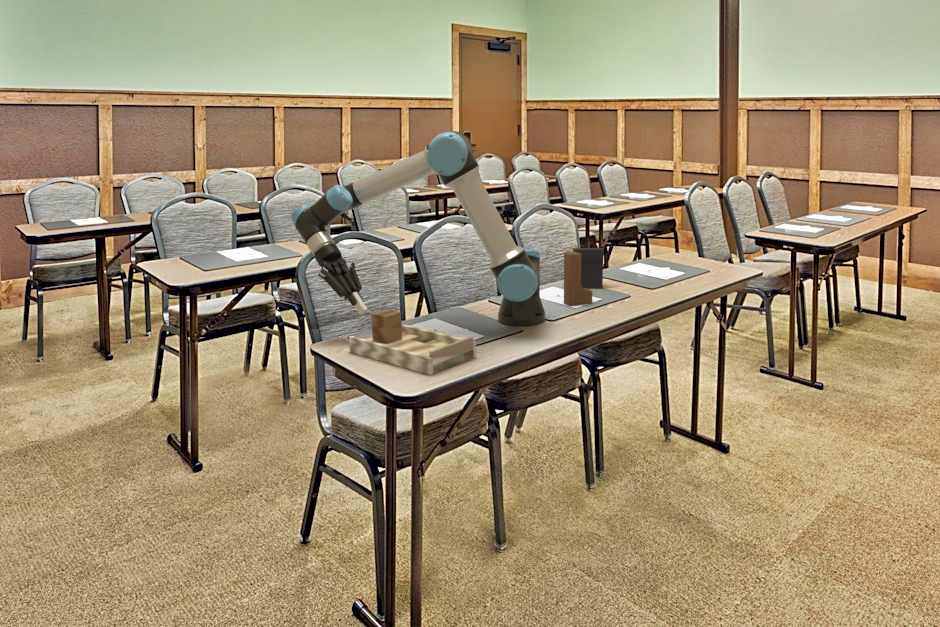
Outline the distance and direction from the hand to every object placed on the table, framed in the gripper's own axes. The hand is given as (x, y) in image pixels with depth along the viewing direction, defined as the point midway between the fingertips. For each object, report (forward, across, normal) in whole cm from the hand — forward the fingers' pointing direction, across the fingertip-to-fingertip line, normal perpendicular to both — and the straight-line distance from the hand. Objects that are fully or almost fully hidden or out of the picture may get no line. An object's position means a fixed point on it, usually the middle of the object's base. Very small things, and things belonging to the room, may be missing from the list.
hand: (363, 312), depth 224 cm
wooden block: (+24, -75, +11) cm, 80 cm away
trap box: (+20, 0, +7) cm, 21 cm away
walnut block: (+11, 0, +2) cm, 11 cm away
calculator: (+17, -97, +4) cm, 98 cm away
